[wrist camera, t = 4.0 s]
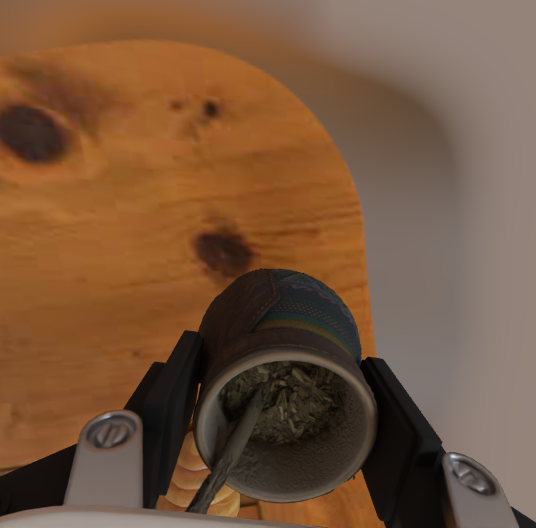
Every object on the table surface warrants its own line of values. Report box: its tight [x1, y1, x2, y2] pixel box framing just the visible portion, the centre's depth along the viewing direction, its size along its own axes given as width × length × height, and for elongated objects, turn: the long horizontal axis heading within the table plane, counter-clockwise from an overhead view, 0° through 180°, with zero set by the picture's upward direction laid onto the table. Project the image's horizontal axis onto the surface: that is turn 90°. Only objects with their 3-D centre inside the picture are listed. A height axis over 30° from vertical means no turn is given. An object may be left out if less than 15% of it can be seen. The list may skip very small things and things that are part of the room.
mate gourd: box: [185, 268, 379, 514], centre depth 11 cm, size 7×8×10 cm
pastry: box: [155, 431, 240, 518], centre depth 22 cm, size 9×7×4 cm
